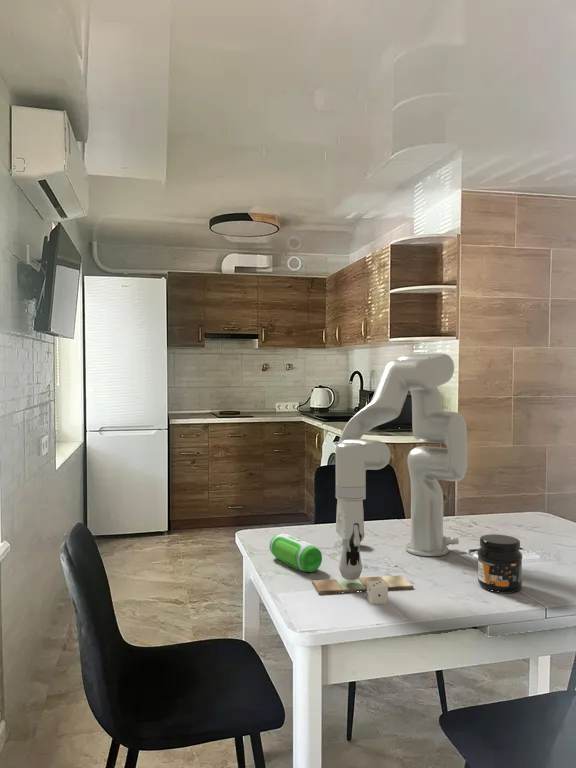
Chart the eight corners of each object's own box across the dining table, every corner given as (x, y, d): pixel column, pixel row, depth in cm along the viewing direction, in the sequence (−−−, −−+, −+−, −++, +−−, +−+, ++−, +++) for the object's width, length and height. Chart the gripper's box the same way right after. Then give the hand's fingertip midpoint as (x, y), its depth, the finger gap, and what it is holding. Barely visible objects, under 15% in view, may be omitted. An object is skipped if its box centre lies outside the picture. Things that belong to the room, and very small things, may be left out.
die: (383, 597, 141) (383, 579, 141) (387, 603, 137) (387, 586, 137) (366, 597, 141) (366, 580, 141) (370, 604, 137) (370, 586, 137)
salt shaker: (347, 582, 144) (347, 529, 144) (334, 575, 149) (334, 524, 149) (366, 578, 147) (366, 526, 147) (354, 572, 152) (354, 521, 152)
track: (402, 578, 154) (402, 575, 154) (413, 588, 147) (413, 585, 147) (312, 583, 151) (312, 580, 151) (318, 594, 143) (318, 591, 143)
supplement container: (470, 587, 147) (471, 539, 147) (487, 576, 156) (487, 531, 155) (513, 597, 141) (513, 547, 141) (528, 585, 149) (528, 538, 149)
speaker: (323, 571, 160) (323, 544, 160) (301, 576, 156) (301, 548, 156) (289, 555, 175) (289, 530, 175) (268, 559, 171) (267, 533, 171)
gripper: (328, 486, 155) (328, 556, 156) (344, 499, 139) (344, 576, 139) (356, 485, 157) (356, 554, 157) (375, 498, 140) (375, 575, 141)
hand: (350, 564), depth 148 cm, fingers closed on salt shaker, 3 cm apart
